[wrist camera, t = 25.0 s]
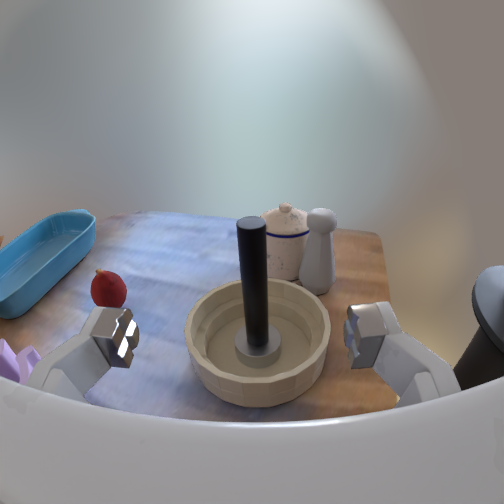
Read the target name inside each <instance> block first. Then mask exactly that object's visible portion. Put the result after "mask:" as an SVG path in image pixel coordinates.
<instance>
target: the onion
mask: <svg viewBox="0 0 504 504" xmlns="http://www.w3.org/2000/svg"><path fill="white" fill-rule="evenodd" d="M96 273H97V275H96V276H95V277H94V279H93V281H92V284H91V296H92V299H93V301H94V303H95V304H96V305H97V306H99V307H115V308H120V307H121V306H122V305H123V303H124V302H125V300H126V294H127V289H126V285H125V284H124V282H123V280H122V279H121V278H120V276H118V275H117V274H115V273H113V272H110V271H104V270H101V269H97V270H96Z"/></svg>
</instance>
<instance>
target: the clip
mask: <svg viewBox="0 0 504 504" xmlns="http://www.w3.org/2000/svg"><path fill="white" fill-rule="evenodd" d="M41 359H42V358H41V357H40V356H39V354H38V353H37V352H36V350H35V349H34V347H33V346H32V345H29V346H28V347H26V348H25V349H23V350H22V351H20V352H19V354H18V355H17V356H16V355H15V354H14V352H13V351H12V350H11V348H10V347H9V346H8V344H7V343H6V341H5V340H4V339H0V376H2V377H4V378H7V379H9V380H12V381H15V382H17V383H20V384H23V385H26V383H27V381H28V379H29V377H30V375H31V373H32V371H33V369H34V367H35V365H36V363H37V362H38V361H40V360H41Z"/></svg>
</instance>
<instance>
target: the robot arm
mask: <svg viewBox="0 0 504 504" xmlns="http://www.w3.org/2000/svg"><path fill="white" fill-rule="evenodd" d="M347 315H348V319H347V320H346V321H345V324H344V342H345V346H346V347H348V348H349V352H348V358H349V363H350V367H351V369H360V368H370V367H373V369H374V370H375V371H376V372H377V374H378V375H379V376H380V377H381V378H382V379H383V380H384V381H385V382H386V383H387V384H388V385H389V386H390V387H391V388H392V389H393V390H394V391H395V392H396V393H397V395H398V396H399V397H400V400H399V401H398V403H397V404H396V406H395V407H394V409H390V410H385V411H379V412H373V413H367V414H361V415H354V416H346V417H338V418H329V419H319V420H306V421H290V422H215V421H198V420H186V419H176V418H167V417H158V416H151V415H144V414H138V413H132V412H126V411H120V410H115V409H110V408H105V407H100V406H96V405H91V404H89V402H88V401H87V400H86V399H85V398H84V397H83V396H84V395H85V394H86V393H87V391H88V390H89V389H90V388H91V387H92V386H93V385H94V384H95V383H96V382H97V381H98V380H99V379H100V378H101V377H102V376H103V375H104V374H105V373H106V372H107V371H108V370H109V369H110V368H111V367H119V368H129V367H130V365H131V362H132V359H133V356H134V355H133V352H132V350H133V349H135V348H136V347H137V345H138V342H139V329H138V326H137V324H136V323H135V322H134V321H132V320H131V319H132V317H133V315H132V312H131V310H130V309H127V308H115V307H99V306H96V307H95V308H93V310H92V312H91V313H90V315H89V317H88V319H87V320H86V322H85V324H84V326H83V328H82V330H81V332H80V333H79V335H77V334H76V335H74V336H73V337H72V338H70V339H69V340H67V341H66V342H65V343H63V344H62V345H60V346H59V347H58V348H56V349H55V350H54V351H52V352H51V353H49V354H48V355H47V356H45V357H44V358H43V359H41V360H40V361H38V362H37V363H36V365H35V367H34V369H33V371H32V373H31V375H30V377H29V379H28V381H27V383H26V385H23V384H20V383H17V382H15V381H12V380H9V379H7V378H4V377H2V376H0V504H504V376H503V377H501V378H498V379H496V380H493V381H490V382H488V383H485V384H482V385H479V386H476V387H474V388H471V389H467V390H464V391H461V389H460V386H459V384H458V381H457V379H456V377H455V374H454V372H453V370H452V368H451V365H450V364H448V363H447V362H446V361H444V360H443V359H442V358H440V357H439V356H438V355H436V354H435V353H434V352H432V351H431V350H429V349H428V348H427V347H425V346H424V345H423V344H421V343H420V342H419V341H417V340H416V339H414V338H413V337H412V336H410V335H409V334H408V333H403V332H402V330H401V328H400V325H399V323H398V321H397V319H396V316H395V314H394V312H393V310H392V308H391V305H390V303H389V302H377V303H367V304H355V305H349V307H348V310H347Z"/></svg>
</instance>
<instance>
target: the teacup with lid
mask: <svg viewBox="0 0 504 504" xmlns="http://www.w3.org/2000/svg"><path fill="white" fill-rule="evenodd" d="M307 214H308V213H306V212H304V211H302V210H299V209H294V208H292V205H291V204H290V203H282V204H280V206H279V208H276V209H272V210H269V211H266V212H265V213H263V214H262V215H261V216H260V217H261V218H263V219H264V220H265V221H266V237H267V275H268V277H270V278H274V279H280V280H286V281H289V280H295V279H298V278H299V269H300V266H301V262H302V258H303V254H304V250H305V247H306V243H307V239H308V235H309V231H310V229H309V228H308V227H307Z"/></svg>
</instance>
